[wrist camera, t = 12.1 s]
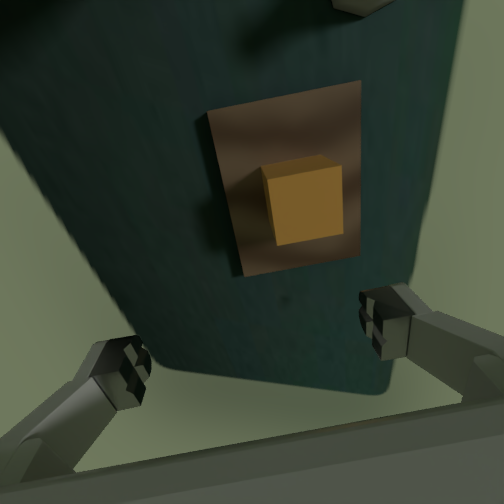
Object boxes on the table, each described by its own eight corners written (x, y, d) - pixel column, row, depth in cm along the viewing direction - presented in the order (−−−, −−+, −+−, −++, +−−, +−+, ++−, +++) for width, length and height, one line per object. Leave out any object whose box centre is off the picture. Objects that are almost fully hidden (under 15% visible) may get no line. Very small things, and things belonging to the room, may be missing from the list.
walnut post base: (208, 111, 26) (202, 111, 21) (354, 81, 26) (382, 74, 21) (243, 270, 34) (245, 296, 30) (355, 249, 34) (375, 273, 29)
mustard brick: (260, 166, 27) (267, 179, 22) (320, 154, 27) (341, 165, 22) (269, 222, 30) (277, 245, 25) (323, 211, 30) (343, 233, 25)
